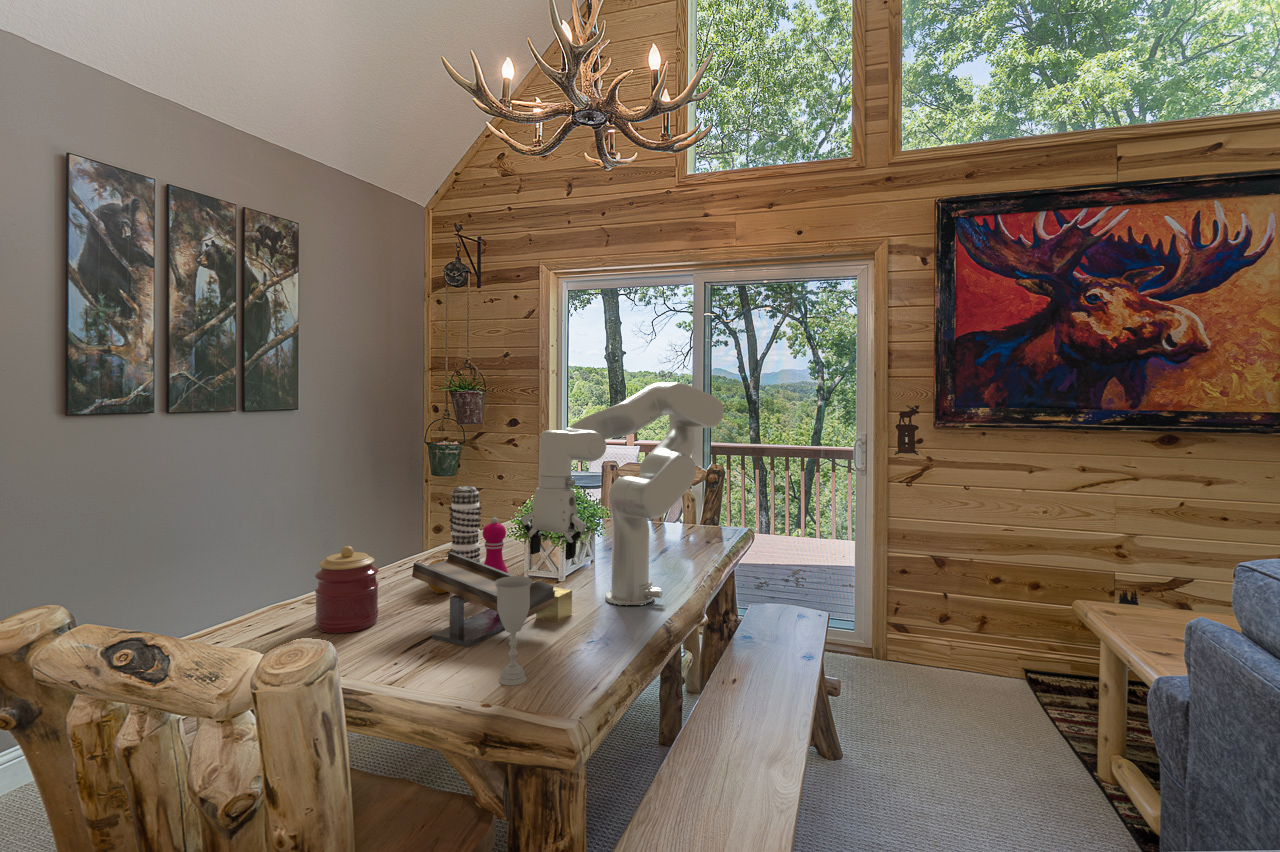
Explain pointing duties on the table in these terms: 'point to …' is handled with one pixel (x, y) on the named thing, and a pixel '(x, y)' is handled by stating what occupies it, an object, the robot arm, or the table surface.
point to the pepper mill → (494, 544)
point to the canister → (346, 592)
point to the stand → (468, 625)
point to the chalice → (513, 620)
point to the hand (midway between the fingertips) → (552, 555)
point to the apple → (435, 586)
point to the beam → (477, 582)
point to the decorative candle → (465, 522)
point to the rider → (558, 606)
